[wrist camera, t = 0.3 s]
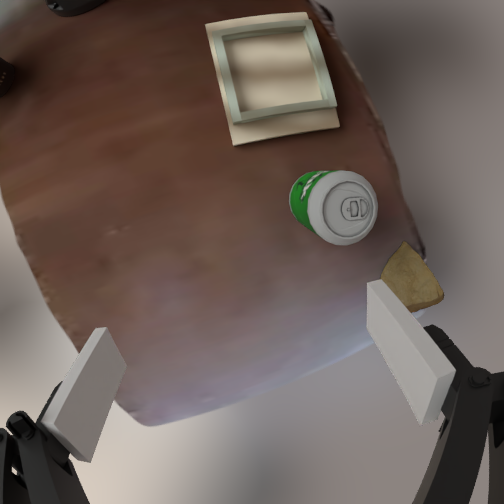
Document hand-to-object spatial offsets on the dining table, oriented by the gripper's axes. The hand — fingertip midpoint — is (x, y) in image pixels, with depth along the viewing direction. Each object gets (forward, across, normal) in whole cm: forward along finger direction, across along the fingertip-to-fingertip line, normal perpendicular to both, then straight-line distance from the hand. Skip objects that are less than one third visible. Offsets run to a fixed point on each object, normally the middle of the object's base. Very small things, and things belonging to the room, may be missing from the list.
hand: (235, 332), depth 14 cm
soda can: (+27, +10, -1) cm, 29 cm away
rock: (+26, +20, -15) cm, 36 cm away
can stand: (+29, +8, +17) cm, 34 cm away
